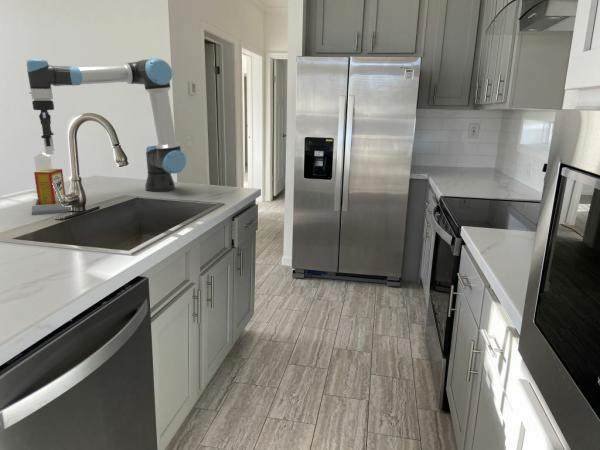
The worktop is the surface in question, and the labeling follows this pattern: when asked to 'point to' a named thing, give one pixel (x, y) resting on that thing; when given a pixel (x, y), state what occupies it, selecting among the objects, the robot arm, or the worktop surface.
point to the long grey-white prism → (42, 161)
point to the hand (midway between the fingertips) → (50, 152)
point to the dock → (48, 208)
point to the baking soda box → (49, 185)
